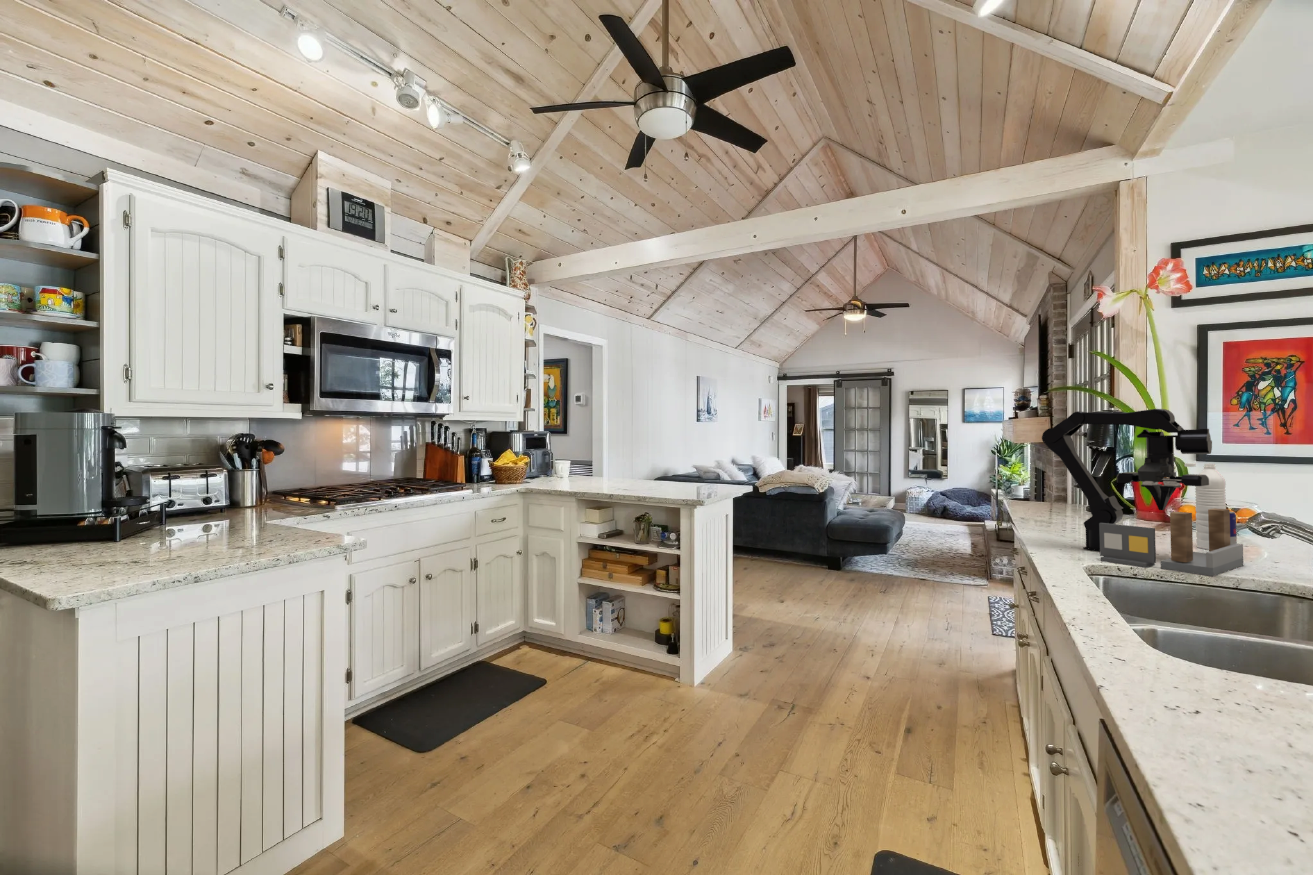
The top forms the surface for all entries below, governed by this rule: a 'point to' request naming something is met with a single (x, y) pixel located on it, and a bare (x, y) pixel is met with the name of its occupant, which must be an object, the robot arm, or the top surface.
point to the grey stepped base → (1209, 561)
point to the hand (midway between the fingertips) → (1161, 510)
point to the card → (1127, 545)
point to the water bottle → (1207, 501)
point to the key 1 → (1181, 536)
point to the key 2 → (1219, 528)
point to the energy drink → (1233, 528)
